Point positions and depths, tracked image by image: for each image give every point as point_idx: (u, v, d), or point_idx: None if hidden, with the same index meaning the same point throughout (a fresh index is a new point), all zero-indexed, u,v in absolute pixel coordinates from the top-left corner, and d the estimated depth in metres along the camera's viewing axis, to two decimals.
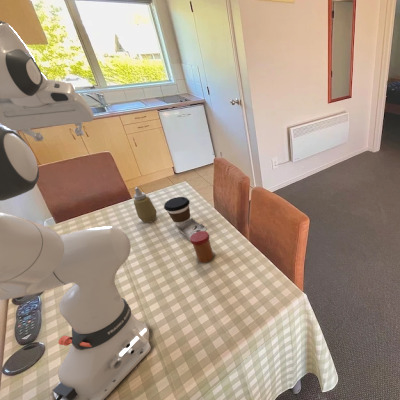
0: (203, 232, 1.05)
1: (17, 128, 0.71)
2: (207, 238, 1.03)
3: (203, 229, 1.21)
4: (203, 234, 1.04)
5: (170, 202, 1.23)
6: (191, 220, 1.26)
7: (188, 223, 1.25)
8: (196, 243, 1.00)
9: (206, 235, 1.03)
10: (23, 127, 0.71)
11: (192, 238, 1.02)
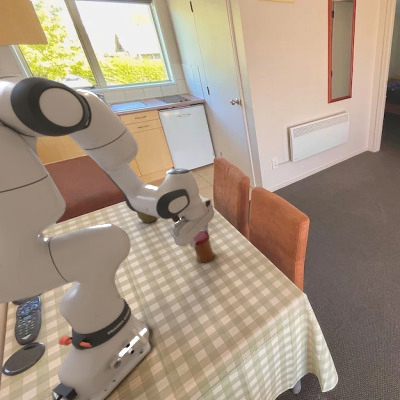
0: (203, 232, 1.05)
1: (190, 240, 0.95)
2: (207, 238, 1.03)
3: None
4: (203, 234, 1.04)
5: None
6: None
7: None
8: None
9: (206, 235, 1.03)
10: (192, 238, 0.96)
11: None
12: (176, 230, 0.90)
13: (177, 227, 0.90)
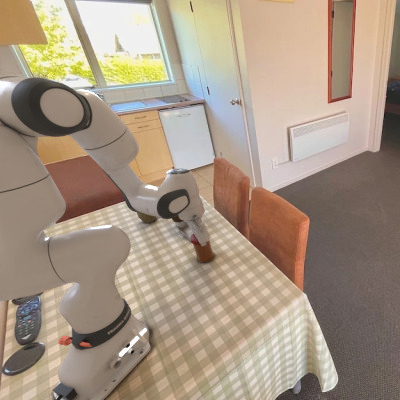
0: None
1: None
2: None
3: None
4: None
5: None
6: None
7: None
8: None
9: None
10: None
11: (196, 239, 1.01)
12: (201, 226, 0.91)
13: (200, 223, 0.92)
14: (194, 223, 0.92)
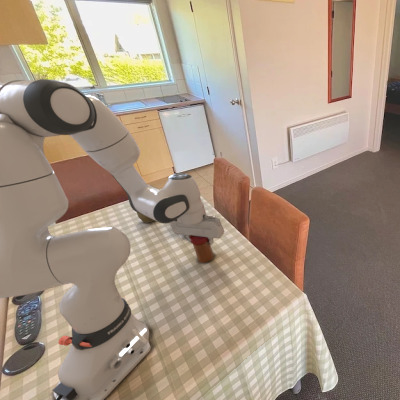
0: None
1: None
2: None
3: None
4: None
5: None
6: None
7: None
8: None
9: None
10: None
11: (200, 239, 1.01)
12: None
13: None
14: (208, 221, 0.97)
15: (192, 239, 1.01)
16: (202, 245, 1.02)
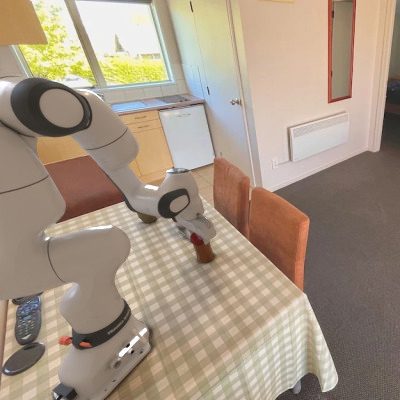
0: (192, 238, 1.01)
1: None
2: None
3: None
4: (194, 236, 1.02)
5: None
6: None
7: None
8: None
9: (192, 234, 1.03)
10: None
11: None
12: None
13: None
14: (200, 220, 0.93)
15: (199, 239, 1.00)
16: (202, 245, 1.02)
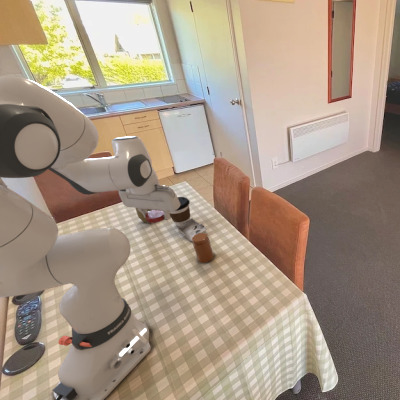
0: (150, 216, 0.93)
1: None
2: None
3: (203, 229, 1.21)
4: (150, 214, 0.94)
5: None
6: (191, 220, 1.26)
7: (188, 223, 1.25)
8: None
9: (147, 213, 0.94)
10: None
11: None
12: None
13: None
14: (160, 191, 0.87)
15: (159, 215, 0.93)
16: (202, 245, 1.02)
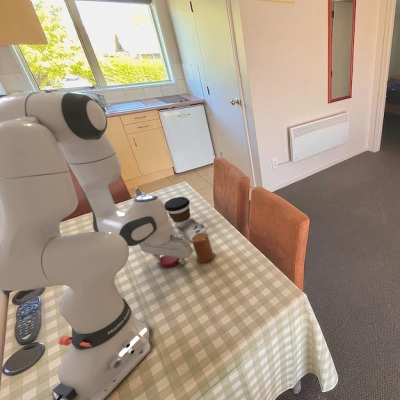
0: (164, 262, 1.03)
1: None
2: None
3: (203, 229, 1.21)
4: (165, 260, 1.05)
5: (170, 202, 1.23)
6: (191, 220, 1.26)
7: (188, 223, 1.25)
8: None
9: (162, 259, 1.05)
10: None
11: None
12: None
13: None
14: (175, 241, 0.98)
15: (173, 261, 1.04)
16: (202, 245, 1.02)
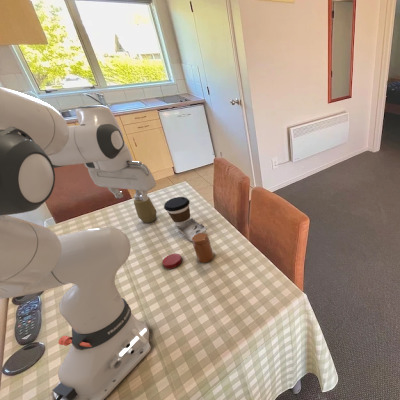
0: (166, 263, 1.03)
1: None
2: None
3: (203, 229, 1.21)
4: (167, 261, 1.04)
5: (170, 202, 1.23)
6: (191, 220, 1.26)
7: (188, 223, 1.25)
8: None
9: (164, 260, 1.05)
10: None
11: (178, 256, 1.06)
12: None
13: None
14: (133, 168, 0.80)
15: (175, 261, 1.04)
16: (202, 245, 1.02)
